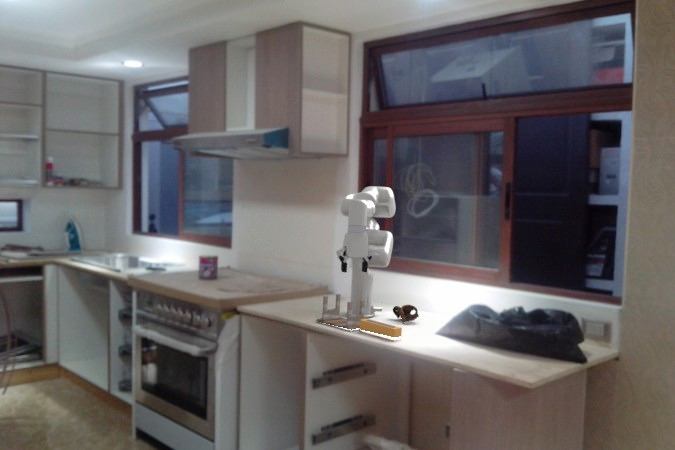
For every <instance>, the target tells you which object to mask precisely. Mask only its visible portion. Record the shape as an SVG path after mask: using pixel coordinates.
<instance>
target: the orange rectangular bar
mask: <svg viewBox="0 0 675 450" xmlns="http://www.w3.org/2000/svg"><path fill="white" fill-rule="evenodd" d="M360 329H361V330H365V331H370V332H374V333H378V334H383V335H387V336H391V337H399V336H401V337H402V327H400V326H396V325H393V324H388V323H385V322H381V321H377V320H373V319H371V318H364V319H362V320H360Z"/></svg>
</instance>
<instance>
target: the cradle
mask: <svg viewBox="0 0 675 450" xmlns="http://www.w3.org/2000/svg"><path fill="white" fill-rule="evenodd" d="M328 297H329V296H328V295H324V296H323V298H322V316H321V318H316V321H318V322H317V323H319V322H321V323H320V324H322V323H326V324H330V325H334V326H338V327H343V328H347V329H351V330H352V329H356V328H360V320H362V319H365V318H364V307H365V300H360V313H359V315H355V316H352V302H351V301H347V305H346V312H347V314H346V318H345V317H341V316H340V312H341V294H340V293H337V294H335V307H334V308H329V309H328V302H329V301H328V300H329V298H328ZM326 324H325V325H326Z"/></svg>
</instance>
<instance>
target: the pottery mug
mask: <svg viewBox="0 0 675 450" xmlns="http://www.w3.org/2000/svg"><path fill="white" fill-rule="evenodd" d="M412 311H415V312H414V313H413V314H412V313H411V312H412ZM392 312H393V314H394V315H395V316H396V318H397V319H400V320H401V321H402V322H405V323H406V322H412V321H415V320H416V319H417V318H419V313H418V309H417V307H416V306H414V305H411V304H403V305H402V306H401V307H400V306H398V305H396V306H393V308H392ZM401 318H402V319H401ZM402 322H401V323H402Z"/></svg>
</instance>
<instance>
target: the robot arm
mask: <svg viewBox="0 0 675 450" xmlns="http://www.w3.org/2000/svg"><path fill="white" fill-rule="evenodd" d="M396 209H397V207H396V201H395V194H394V192H393V190H392V188H390V187H387V186H373V185H371V186H366V187H364V188H363V189H362V190H361V192H357V193H356V192H355V193H352V194H348V195H346V196H344V197H343V199H342V200H341V203H340V213H341V215H342V216H344V217H347V232H345V233H344V237H343V242H342V248H340V249H338V250H336V251H335V253H336V256H337V258H338V260H340V261H339V262H341V264H340V270H341V273H347V272H348V262H347V261H348V260H349V259H350V260H351V285H350V286H351V287H350V302H352V316H355V315H359V313H360V300H365V307H364V319H370V318H369V317H371V318H374V317H375V316H376V313H375V312H383V307H382V306H374V305H372V304H373V288H374V287H373V286H374V285H373V284H374V275H373V273H372V271H371V270H370V268H369V267H371V268H387V267H388V266H389V265H390V262H391V258H392V252H393V248H394V247H393V246H394V237H393V233H392V232H391V231H389V230H380V229H381V228H380V225H379V223H378V222H377V221H376V220H375V219H374V218H385V219H388V218H392V217H394V216H395V213H396ZM345 314H346V315H347V311H346V313H345Z"/></svg>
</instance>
